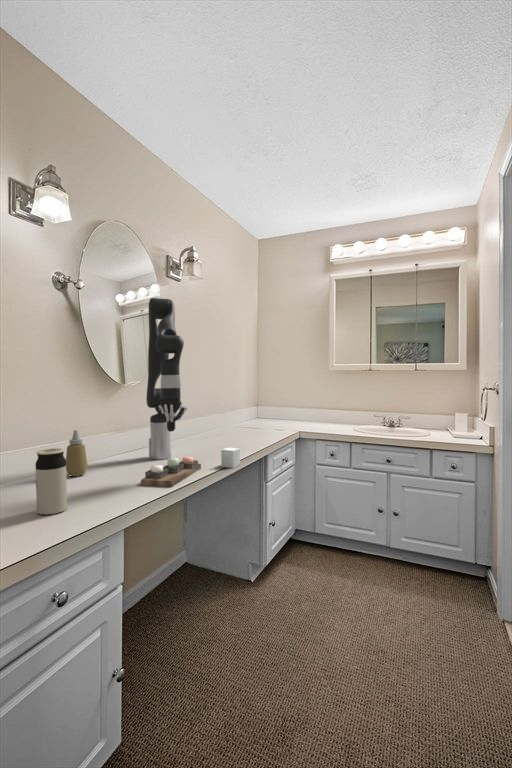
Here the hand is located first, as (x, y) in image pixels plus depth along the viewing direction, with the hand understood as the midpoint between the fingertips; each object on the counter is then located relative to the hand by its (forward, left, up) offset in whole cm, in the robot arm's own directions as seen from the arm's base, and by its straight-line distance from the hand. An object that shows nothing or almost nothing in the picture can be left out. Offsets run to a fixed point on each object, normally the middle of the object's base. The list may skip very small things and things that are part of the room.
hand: (171, 431), depth 156 cm
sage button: (0, 0, -14) cm, 14 cm away
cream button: (-2, -8, -15) cm, 17 cm away
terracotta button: (+3, +8, -15) cm, 18 cm away
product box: (+17, +21, -18) cm, 33 cm away
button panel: (0, 0, -18) cm, 18 cm away
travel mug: (-18, -44, -18) cm, 51 cm away
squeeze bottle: (-39, -6, -18) cm, 43 cm away
